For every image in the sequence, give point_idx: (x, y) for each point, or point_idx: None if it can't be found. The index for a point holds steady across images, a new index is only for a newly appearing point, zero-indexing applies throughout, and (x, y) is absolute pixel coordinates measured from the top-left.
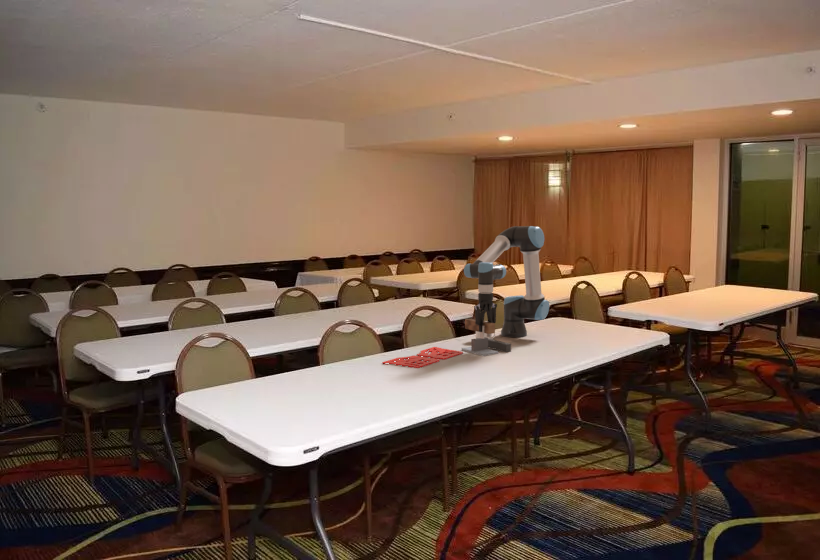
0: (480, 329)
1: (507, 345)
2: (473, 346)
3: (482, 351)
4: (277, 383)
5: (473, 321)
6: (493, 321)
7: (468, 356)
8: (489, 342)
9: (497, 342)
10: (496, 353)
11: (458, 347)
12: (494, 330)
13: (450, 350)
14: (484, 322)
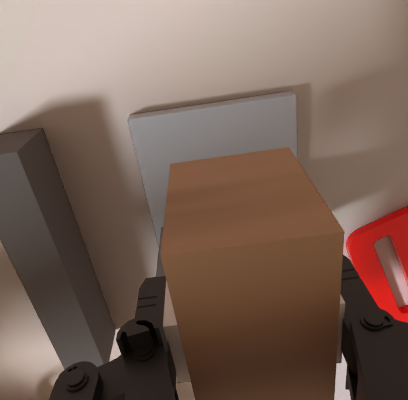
0: (358, 277)
1: (9, 150)
2: None
3: None
4: None
5: None
6: (98, 396)
7: (392, 131)
8: (95, 323)
9: (62, 260)
10: (149, 112)
11: None
12: (177, 181)
13: (384, 301)
14: (280, 394)
